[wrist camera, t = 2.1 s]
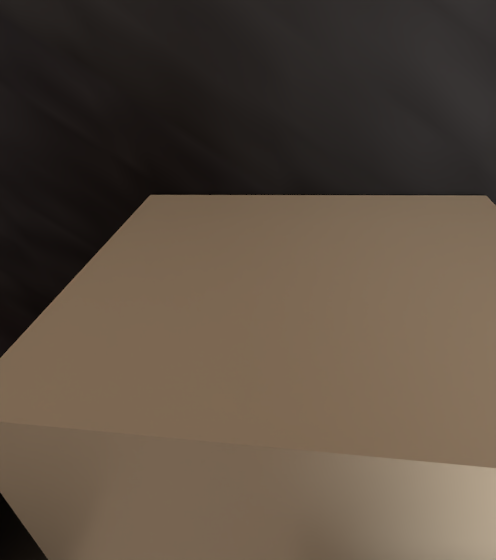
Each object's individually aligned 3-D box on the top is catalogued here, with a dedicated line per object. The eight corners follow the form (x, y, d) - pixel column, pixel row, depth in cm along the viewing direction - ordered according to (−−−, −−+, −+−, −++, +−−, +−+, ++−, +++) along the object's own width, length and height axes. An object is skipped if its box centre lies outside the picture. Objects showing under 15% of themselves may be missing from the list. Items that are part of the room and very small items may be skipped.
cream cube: (421, 422, 13) (498, 717, 7) (190, 403, 14) (111, 649, 9) (486, 195, 9) (769, 493, 3) (150, 194, 10) (-53, 415, 4)
